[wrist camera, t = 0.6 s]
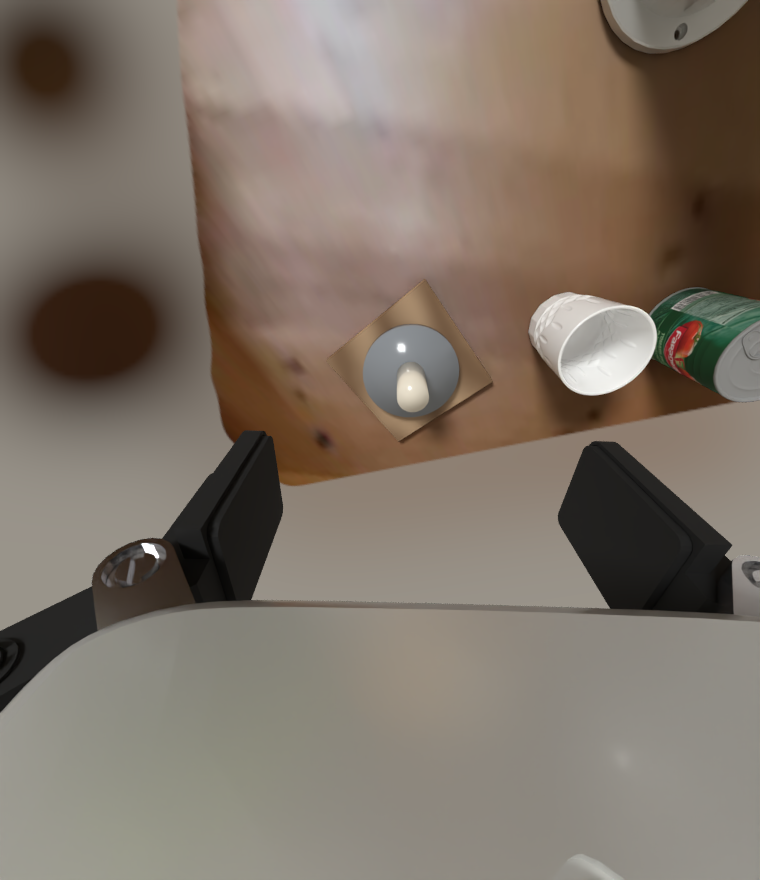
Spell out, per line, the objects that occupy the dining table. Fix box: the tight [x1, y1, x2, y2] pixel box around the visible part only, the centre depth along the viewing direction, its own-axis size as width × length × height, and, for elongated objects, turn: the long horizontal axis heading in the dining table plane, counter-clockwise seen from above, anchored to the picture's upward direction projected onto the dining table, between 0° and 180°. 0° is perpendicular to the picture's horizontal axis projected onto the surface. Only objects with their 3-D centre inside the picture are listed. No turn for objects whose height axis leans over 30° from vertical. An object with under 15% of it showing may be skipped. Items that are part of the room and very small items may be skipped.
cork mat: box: [327, 279, 493, 442], centre depth 41 cm, size 14×14×1 cm
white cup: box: [528, 292, 657, 395], centre depth 34 cm, size 8×8×10 cm
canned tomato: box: [649, 287, 760, 402], centre depth 33 cm, size 8×8×11 cm
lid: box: [363, 324, 459, 417], centre depth 37 cm, size 11×11×7 cm
